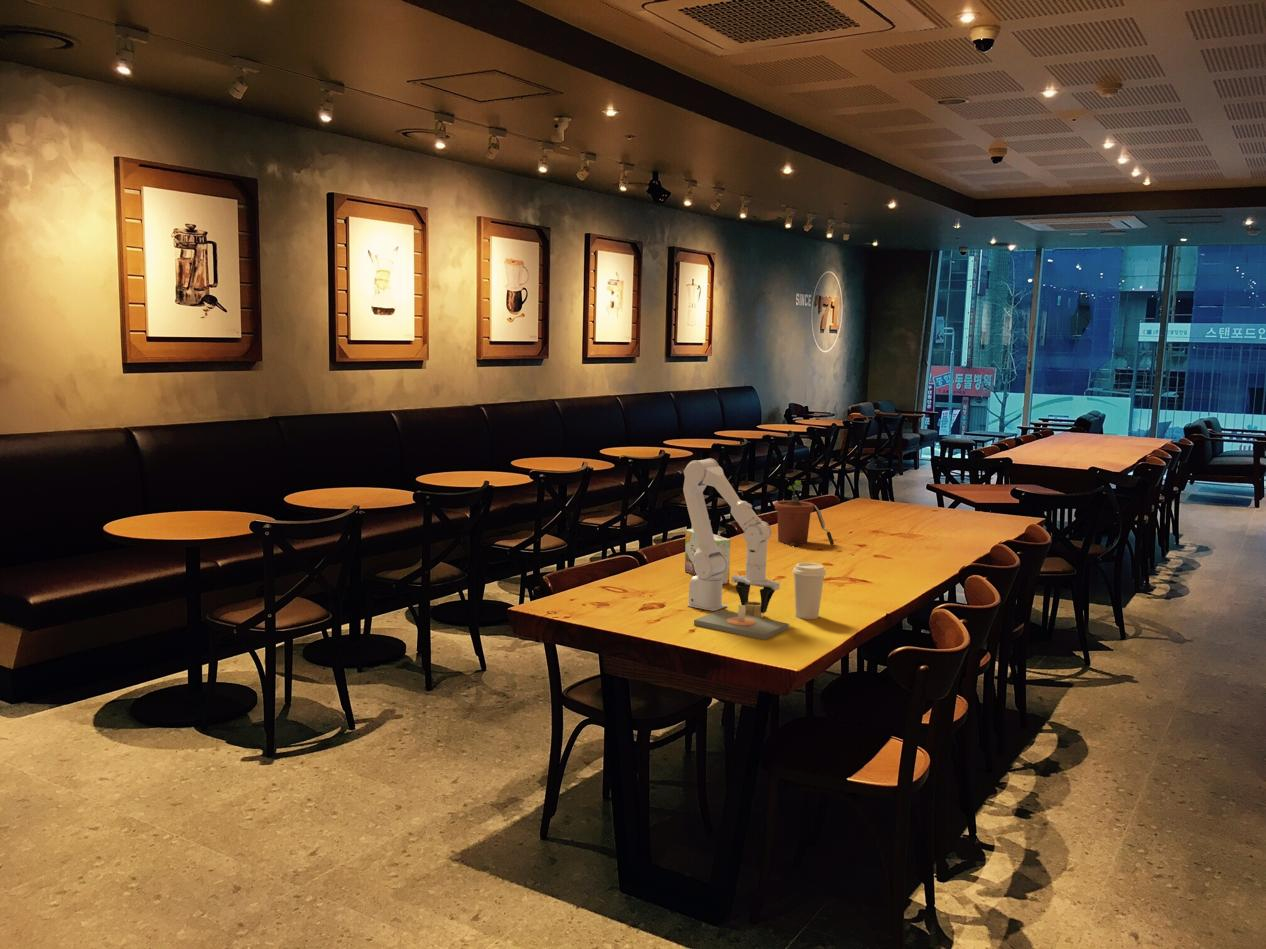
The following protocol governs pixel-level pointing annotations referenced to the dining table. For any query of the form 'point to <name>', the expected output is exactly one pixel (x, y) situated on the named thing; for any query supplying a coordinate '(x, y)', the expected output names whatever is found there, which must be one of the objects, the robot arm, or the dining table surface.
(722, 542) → the snack box
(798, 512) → the potted plant
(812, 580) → the coffee cup
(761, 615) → the wooden collar
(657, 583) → the dining table surface
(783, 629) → the post board
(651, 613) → the dining table surface
